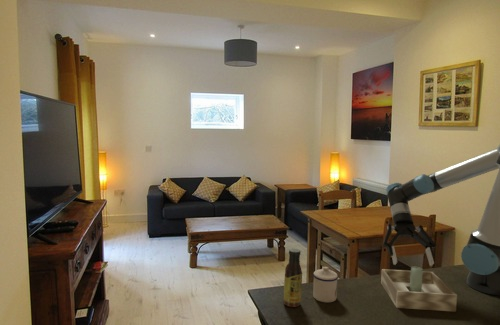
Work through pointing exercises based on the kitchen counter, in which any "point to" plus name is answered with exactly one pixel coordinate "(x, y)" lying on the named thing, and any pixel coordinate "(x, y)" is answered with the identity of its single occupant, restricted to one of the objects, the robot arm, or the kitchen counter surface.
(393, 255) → the robot arm
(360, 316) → the kitchen counter surface
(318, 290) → the teacup with lid
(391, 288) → the box
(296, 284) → the sauce bottle
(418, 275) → the peg
